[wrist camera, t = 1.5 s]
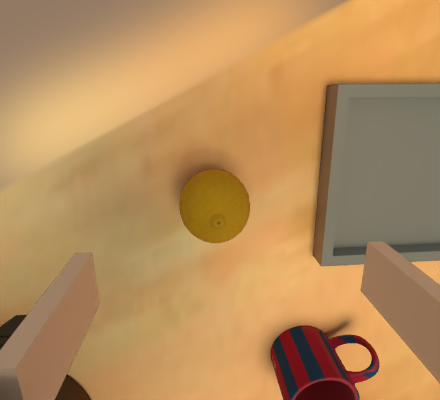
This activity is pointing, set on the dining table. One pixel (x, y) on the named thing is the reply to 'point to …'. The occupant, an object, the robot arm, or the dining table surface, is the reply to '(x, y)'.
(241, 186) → the lemon
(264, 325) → the dining table surface
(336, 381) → the mug
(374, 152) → the tray
